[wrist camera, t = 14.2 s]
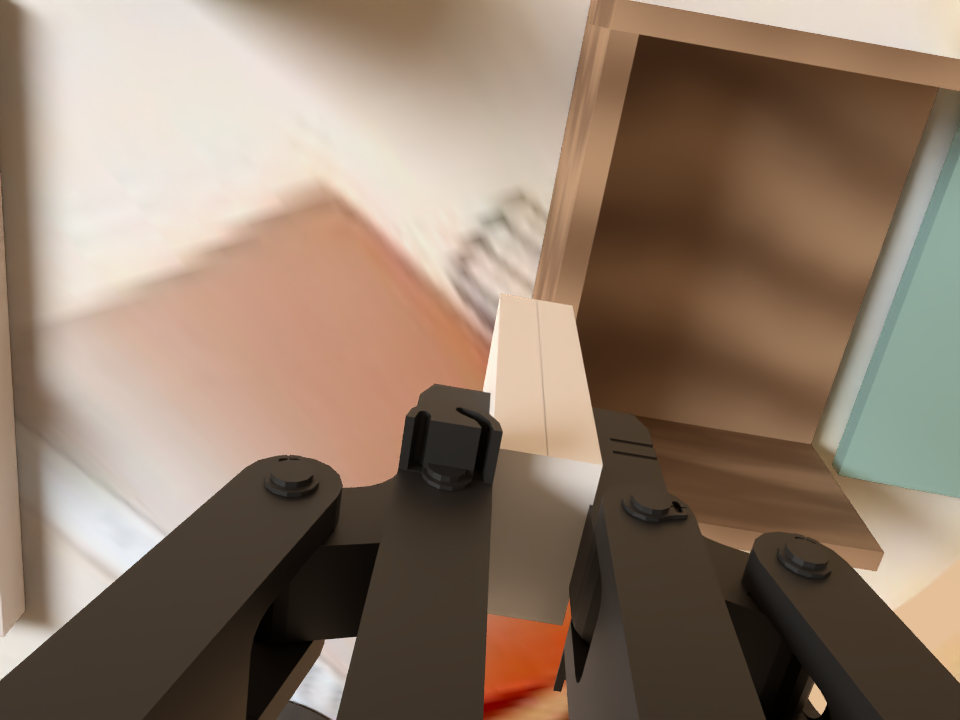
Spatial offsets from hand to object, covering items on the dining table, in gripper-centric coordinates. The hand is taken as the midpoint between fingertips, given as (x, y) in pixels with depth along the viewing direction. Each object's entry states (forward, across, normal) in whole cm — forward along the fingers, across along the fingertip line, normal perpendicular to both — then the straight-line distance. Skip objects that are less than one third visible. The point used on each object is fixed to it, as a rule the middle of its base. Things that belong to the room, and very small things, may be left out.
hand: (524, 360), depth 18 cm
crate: (+26, -11, +3) cm, 29 cm away
